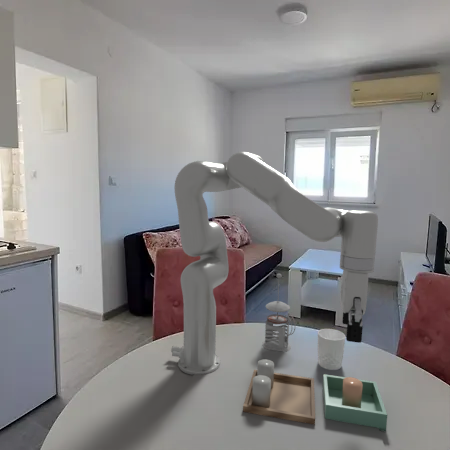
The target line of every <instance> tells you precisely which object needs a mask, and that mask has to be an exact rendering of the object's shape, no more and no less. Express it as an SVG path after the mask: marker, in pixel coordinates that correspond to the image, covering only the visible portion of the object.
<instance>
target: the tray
mask: <svg viewBox="0 0 450 450" xmlns="http://www.w3.org/2000/svg"><path fill="white" fill-rule="evenodd" d="M255 376H257V369H253V372H252V375H251V377H250V382H249V385H248V389H247V392H246V395H245V399H244V402H243V406H242V412H243V413H249V414H254V415H259V416H263V417H270V418H276V419H279V420H280V419H281V420H287V421H291V422H298V423H302V424H309V425H314V426H315V425H316V401H315V399H316V398H315V378H313V377H307V376H301V375H294V374H287V373H282V372H280V373H279V372H274V385H273V388H271V394H270V406H269V407H268V408H264V407H258V406H253V404H252V390H253V378H254V377H255Z"/></svg>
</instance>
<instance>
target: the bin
mask: <svg viewBox="0 0 450 450" xmlns="http://www.w3.org/2000/svg"><path fill="white" fill-rule="evenodd" d="M346 377H347V376H346ZM346 377H345V376H339V375H338V376H337V375H331V374H326V373H325V374H323V378H322V393H323V396H322V397H323V408H324V409H323V410H324V419H326V420H332V421H335V422H336V421H337V422H343V423H348V424H353V425H359V426H366V427H370V428H376V429H378V430H379V431H381V432H387V426H388V424H387V423H388V413H387V410H386V407H385V405H384V401H383V397H382V395H381V392H380V389H379V386H378V383H377V381H371V380H367V379H359V378H357V379H358V380H360V381H361V382H362V384H363V387H362V401H361V408H356V407H350V406H344V405H342V393H343V379H344V378H346Z"/></svg>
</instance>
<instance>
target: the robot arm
mask: <svg viewBox="0 0 450 450" xmlns="http://www.w3.org/2000/svg"><path fill="white" fill-rule="evenodd" d="M240 188H241V189H244V190H246V192H248V193H250V194H251V195H252V196H254V197H256V198H257V199H259V200H260V201H261V202H263V203H264V204H265V205H267V206H268V207H270V209H271V210H272V211H273V212H274V213H275V214H276V215H278V216H279V218H281V219H282V220H283V221H284V222H286V223H287V224H288V225H290V226H291V227H292V228H293V229H295V230H296V231H298V232H299V233H301V234H302V235H304V236H306V237H307V238H309V239H311V240H313V241H315V242H318V243H326V242H330V241H331V240H333V239H334V238H341V241H340V243H341V244H340V254H339V255H340V259H339V269H341V270H342V271H343V272H342V278H341V286H340V295H339V304H340V307H341V311H342V321H341V322H342V324H343V325H346V334H345V341H347V342H352V343H359V344H360V343H362V338H363V328H364V327H363V325H364V324H363V316H364V315H365V314H366V309H367V302H368V301H367V299H368V290H369V289H368V288H369V287H368V285H369V274H370V273H371V274H372V273H373V272H374V271H375V260H376V249H377V240H378V239H377V236H378V226H379V216H378V214H377V213H376V212H373V211H371V210H359V209H358V210H355V209H353V210H352V209H350V210H347V209H346V210H345V209H341V208H340V209H339V208H335V207H323V206H322V205H319V204H318V203H316V202H315V201H314V200H312V199H310V198H309V197H307V196H306V195H304V194H303V193H302V192H301V191H300V190H298V188H296V186H295V185H294V184H293V181H292V180H291V179H290V178H289V177H288V176H286V175H284V174H282V173H281V172H280V171H278V170H276V169H275V168H273V167H272V166H270V165H268V164H267V162H266V161H265V160H264V159H263V158H262V157H261V156H260V155H257V154H255V153H251V152H248V151H238V152H236V153H234V154H232V155H231V156H230V157H229V158H228V159H227V161H225V162H224V161H223V162H220V163H219V162H212V161H206V160H197V161H192V162H189V163H188V164H186V165H184V166H183V167H182V168H181V169H180V171H179V172H178V173H177V175H176V177H175V180H174V197H175V203H176V206H177V214H178V215H177V216H178V217H177V218H178V224H179V234H180V242H181V243H180V244H181V247H182V250H183V253H185V255H187V256H189V257H192V258H193V257H200V259H198V260H195V261H192V262H191V263H189V264H188V265H187V266H185V268H184V269H183V270H182V272H181V275H180V288H181V292H182V298H183V299H182V302H183V346H182V347H181V346H177V345H176V346H174V345H173V346H172V347H171V348H170V351H171V356H172V357H175V358H177V357H178V361H177V362H178V363H177V364H178V366H177V367H178V368H179V370H180V371H182V372H183V373H185V374H187V375H191V376H195V375H207V374H210V373H212V372H216V370H218V369H219V367H220V366H221V358H220V356H218V355H217V354H216V350H217V349H216V342H217V341H216V340H217V339H216V337H217V335H216V334H217V304H216V299H215V295H214V289H215V288H217V287H218V286H221V285H222V284H223V283H224V282H225V281H226V280H227V279H228V275H229V269H230V267H229V257H228V249H227V239H226V235H225V232H224V230H223V228H222V227H221V225H219V224H218V223H217V222H214V221H209V215H208V214H209V212H208V207H207V203H206V200H205V198H204V196H203V195H204V193H206V192H207V193H220V192H227V191H230V190H237V189H240Z"/></svg>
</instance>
